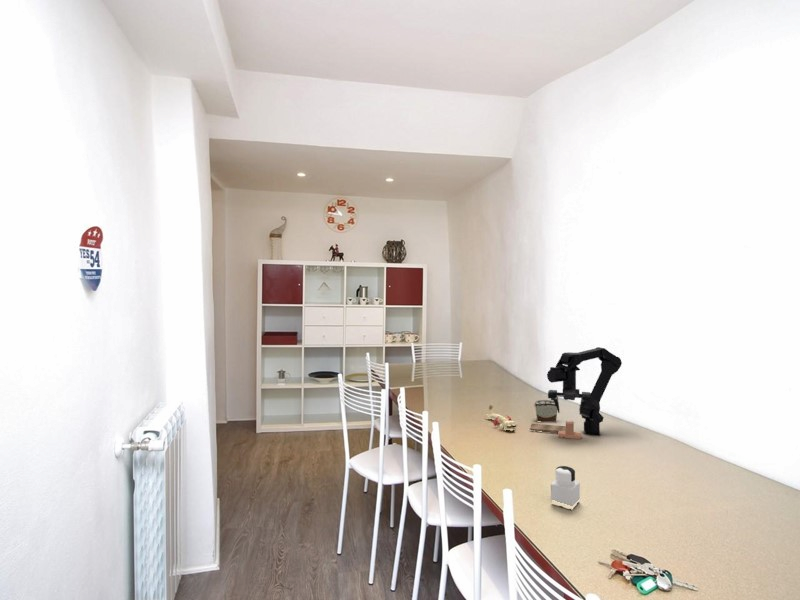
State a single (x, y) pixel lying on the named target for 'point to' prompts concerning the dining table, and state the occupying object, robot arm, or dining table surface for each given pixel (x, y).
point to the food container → (546, 410)
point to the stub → (569, 431)
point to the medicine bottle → (565, 486)
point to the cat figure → (502, 420)
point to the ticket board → (547, 428)
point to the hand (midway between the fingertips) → (569, 413)
